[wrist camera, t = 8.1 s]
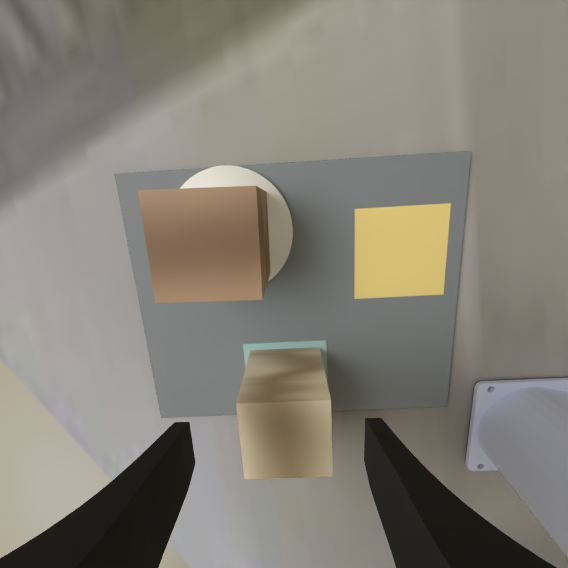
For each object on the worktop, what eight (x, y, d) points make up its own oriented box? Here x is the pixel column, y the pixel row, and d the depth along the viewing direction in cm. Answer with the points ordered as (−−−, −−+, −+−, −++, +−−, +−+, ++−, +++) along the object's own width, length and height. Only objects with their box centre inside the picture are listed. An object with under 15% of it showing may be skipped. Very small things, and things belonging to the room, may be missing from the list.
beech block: (319, 347, 21) (331, 400, 15) (321, 407, 23) (332, 476, 17) (250, 350, 21) (236, 403, 16) (256, 409, 23) (244, 479, 17)
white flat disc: (289, 162, 18) (289, 161, 18) (295, 287, 20) (295, 289, 20) (161, 170, 19) (157, 169, 18) (180, 293, 21) (177, 296, 20)
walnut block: (270, 271, 19) (262, 299, 14) (194, 274, 20) (155, 302, 14) (266, 191, 18) (256, 185, 12) (185, 195, 18) (137, 190, 12)
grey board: (467, 151, 18) (472, 150, 18) (444, 403, 23) (447, 407, 22) (117, 174, 19) (113, 173, 19) (163, 414, 24) (160, 418, 23)
